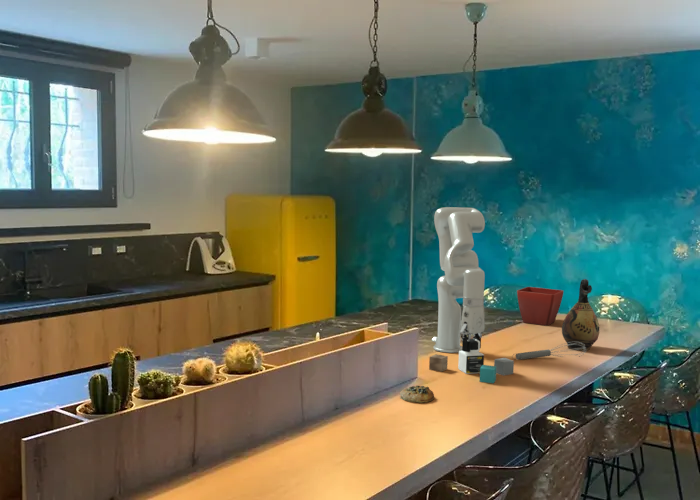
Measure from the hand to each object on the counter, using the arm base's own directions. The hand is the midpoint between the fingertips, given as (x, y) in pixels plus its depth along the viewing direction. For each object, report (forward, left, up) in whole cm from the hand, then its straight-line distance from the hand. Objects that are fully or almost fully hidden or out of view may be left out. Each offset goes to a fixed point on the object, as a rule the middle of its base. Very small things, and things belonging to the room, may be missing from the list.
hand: (471, 349), depth 255 cm
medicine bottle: (0, 0, -9) cm, 9 cm away
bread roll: (+11, -40, -9) cm, 43 cm away
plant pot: (-41, +103, -9) cm, 111 cm away
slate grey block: (+9, +8, -8) cm, 15 cm away
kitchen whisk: (+6, +43, -9) cm, 44 cm away
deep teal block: (+12, -5, -8) cm, 15 cm away
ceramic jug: (+3, +69, -9) cm, 70 cm away
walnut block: (-9, -8, -8) cm, 15 cm away
